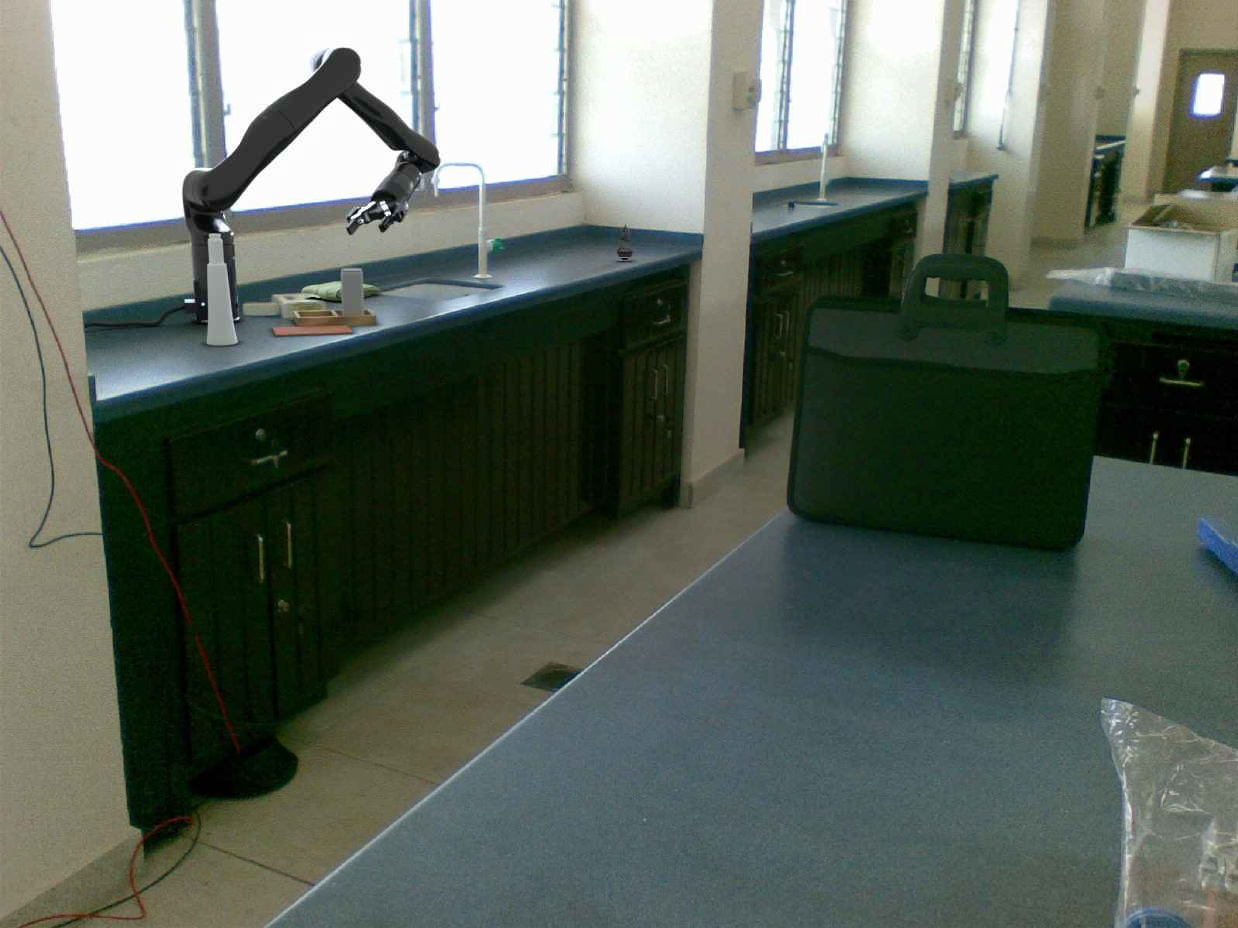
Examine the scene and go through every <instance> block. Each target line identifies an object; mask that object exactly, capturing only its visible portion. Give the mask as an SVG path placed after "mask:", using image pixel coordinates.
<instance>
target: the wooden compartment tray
mask: <svg viewBox="0 0 1238 928" xmlns="http://www.w3.org/2000/svg"><path fill="white" fill-rule="evenodd" d="M293 321H294V323H295V325H296V327H301V326H333V325H348V327H357V326H358V327H361V326H362V327H363V326H377V325H378V324H377V322H378V321H377V315H376V313H374V311H373V310H372V309H371V308H364V315H357V316H343V314H342V309H320V310H319V309H318V310H317V309H316V310H294V311H293Z"/></svg>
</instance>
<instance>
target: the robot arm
mask: <svg viewBox="0 0 1238 928" xmlns="http://www.w3.org/2000/svg"><path fill="white" fill-rule="evenodd" d="M308 69H309V73H310V76H309V77H308V78H307V79H305V80H304V81H303V82H302V83H300V84H298V85H296V86H295V87H293V88H291V89H289V90H287V91H285V92H284V93H282V94H280V95H279V96H277V97H275V98H274V99H273V100H271V101H270V102H268V103H267V104H266V105H265V106H264V107H263V108H262V109H261V110H260V111H259V112H258V113H257V114H255V116H253V117H252V119H251V120H250V121H249V123H248V124H247V126H246V127H245V129H244V131H243V133H242V136H241V138H240V141H239V142H238V145H237V146H236V147H235V148H234V150H233V151H232V152H231V153H230V154H229V155H228V156H227V157H225V158H224V159H223V160H222V161H221V162H220V163H218V164H217V165H216V166H214V167H213V168H208V167H207V168H206V167H197V168H194V169H192V170H190V171H188V173H187V174H186V175H185V176H184V179H183V182H182V186H181V198H182V199H181V200H182V208H183V216H184V224H185V229H186V231H187V233H188V236H189V242H190V243H189V244H190V257H191V270H192V286H193V298H191V299H190V298H188V299H184V304H181V305H179V306H175V307H172V308H170V309H167V310H165V311H164V312H163V313H162V314H161V315H160V317H159V318H158V319H157V320H155V321H141V320H140V321H118V322H108V321H107V322H106V321H98V320H97V321H96V320H95V321H94V320H93V321H87V322H84V323H85V329H87V328H89V327H101V328H102V327H104V328H122V327H148V328H149V327H157V326H160V325H161V324H163V323H164V321H165V319H166V318H167V317H168V316H170V315H172V314H174V313H177V312H180V311H183V310H184V313H185V314H194V315H195V320H194V321H195V323H196V324H207V325H208V279H207V264H209V250H208V239H210V237H209V234H221V237H220V239H222V242H223V257H224V263H225V264H226V267H227V275H228V283H229V292H230V301H231V309H232V317H233V323H236V322H238V321H240V320H241V319H240V310H239V298H238V297H239V296H238V295H239V294H238V293H239V292H238V279H237V278H238V277H237V264H236V247H235V234H234V231H233V230H232V228H231V227H230V225H228V222H227V219H226V215H225V212H226V211H229V210H230V209H231V208H232V207H233V206H234V205H235V204H236V203H237V201H239V199H240V198H241V196H242V195H243V194H244V192H245V191H246V190H247V189H248V188H249V186H251V184H252V182H253V181H254V180H255V179H256V178H257V177H258V176H259V175H260V174H261V173H262V172H263V171H264V170H265V169H267V167H268V166H270V165H271V163H272V162H274V160H275V159H276V158H278V157H279V155H280V154H282V152H284V151H285V150H286V149H288V147H289V146H290V145H291V144H292V143H293V142H294V141H296V139H297V138H298V137H299V136H300V135H301V133H302V132H304V131H305V129H306V128H307V127H309V126H310V124H312V122H313V121H315V120H316V118H317V117H319V115H320V114H321V113H323V111H324V109H326V108H327V107H328V106H329V105H330V104H332V103H333V102H334V101H336V99H338V100H339V101H340V102H341V103H343V104H344V105H345V106H346V107H348V108H349V109H350V110H351V111H352V112H353V113H354V114H355V115H356V116H358V117H359V118H360V120H361V121H363V122H364V123H365V125H367V126H368V128H370V130H372V131H373V132H374V134H375V135H376V136H377V138H379V139H380V140H381V142H383V143H384V144H385V145H386V146H387V147H388V148H389V149H390V150H391V151H394V152H400V153H398V156H397V157H396V160H395V164H394V167H393V168H392V170H391V171H390V172H389V174H388V175H387V176H385V177H384V178H383V179H382V180H381V182H380V183H379V185H377V187H376V188H375V190H374V191H373V192H372V194H371V196H370V202H369V203H368V204H366V205H365V206H361V204H359V203H358V204H356V205H354V206H353V208H352V209H351V210H350V211H349V212H348V213H347V214H346V216H345V219H346V221H347V223H348V224H347V225H346V226H345V229H346V233H348V236H354V234H355V233H356V231H358V229H359V227H361V226H363V225H368V224H370V223H373V222H374V221H379V223H378V224H377V227H378V229H379V231H380V233H381V234H385V233H386V231H387V230H388V229H389V228H390V227H391V226H393V225H394V224H395V223H396V222H397V223H398V224H400V223H402V222H403V221H404V219H405V218H406V216H407V215H408V214H409V211H410V208H409V205H408V202H409V200H410V199H411V198H412V195H413V193H414V192H415V191H416V189H417V188H418V187H419V185H420V183H421V180H422V175H424V174H427V173H429V172H432V171H435V170H436V169H438V168H439V167H440V165H441V162H442V161H441V160H442V157H441V153H440V150H439V149H438V147H437V146H436V145H435V143H433V142H432V140H430V139H429V138H427V137H425V136H424V135H422V134H421V133H419V132H418V131H417V130H414V129H412V128H411V127H410V126H408V124H407V123H406V122H405V121H404V120H403V119H402V117H400V115H399V114H398V113H397V112H396V111H395V110H394V109H393V108H391V106H389V105H388V104H387V103H385V102H384V101H382V99H380V98H378V97H377V96H375V95H374V94H373V93H371V92H370V91H368V90H367V88H365V87H364V86H363V85H362V84H361V83H359V82H358V81H359V79H360V77H361V74H362V69H363V64H362V59H361V57H360V55H359V53H358V52H357V51H356V50H355V49H353V48H351V47H348V46H345V45H323V46H319V47H317V48H316V49H314V50H313V51H312V52H311V54H310V56H309V57H308ZM365 214H366V215H367V217H368V218H367V217H366V215H365ZM360 219H361V220H360Z"/></svg>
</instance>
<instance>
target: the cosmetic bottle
mask: <svg viewBox="0 0 1238 928" xmlns="http://www.w3.org/2000/svg"><path fill="white" fill-rule="evenodd" d="M209 237H210V239H208V250H209V264H207V279H208V324H207V336H206V345H209V346H213V347H214V346H215V347H225V346H227V347H228V346H233V345H237V344H238V338H237V334H236V329H235V324H234V323H235V322H233V317H232V309H231V301H230V292H229V283H228V275H227V267H226V264H225V263H224V257H223V242H222V239H220V237H221V234H209Z"/></svg>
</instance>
